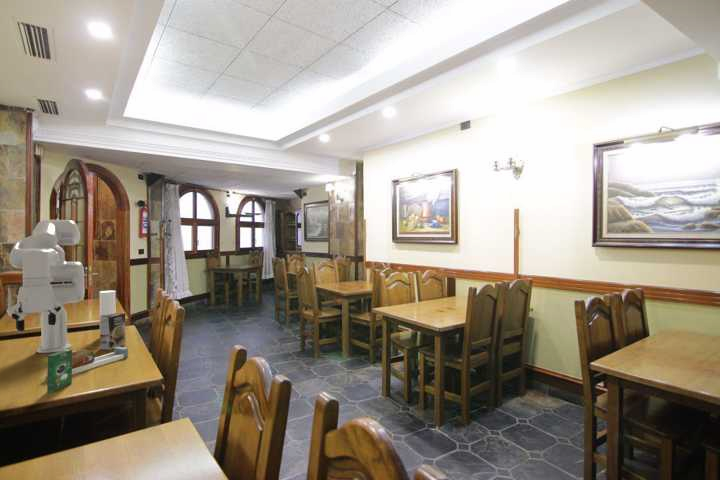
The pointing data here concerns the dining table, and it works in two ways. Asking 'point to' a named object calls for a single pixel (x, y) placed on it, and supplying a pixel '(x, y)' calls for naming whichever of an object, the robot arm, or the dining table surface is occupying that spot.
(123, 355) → the guide track
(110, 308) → the cylindrical container
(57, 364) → the coffee box
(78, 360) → the tin
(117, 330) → the coffee box
